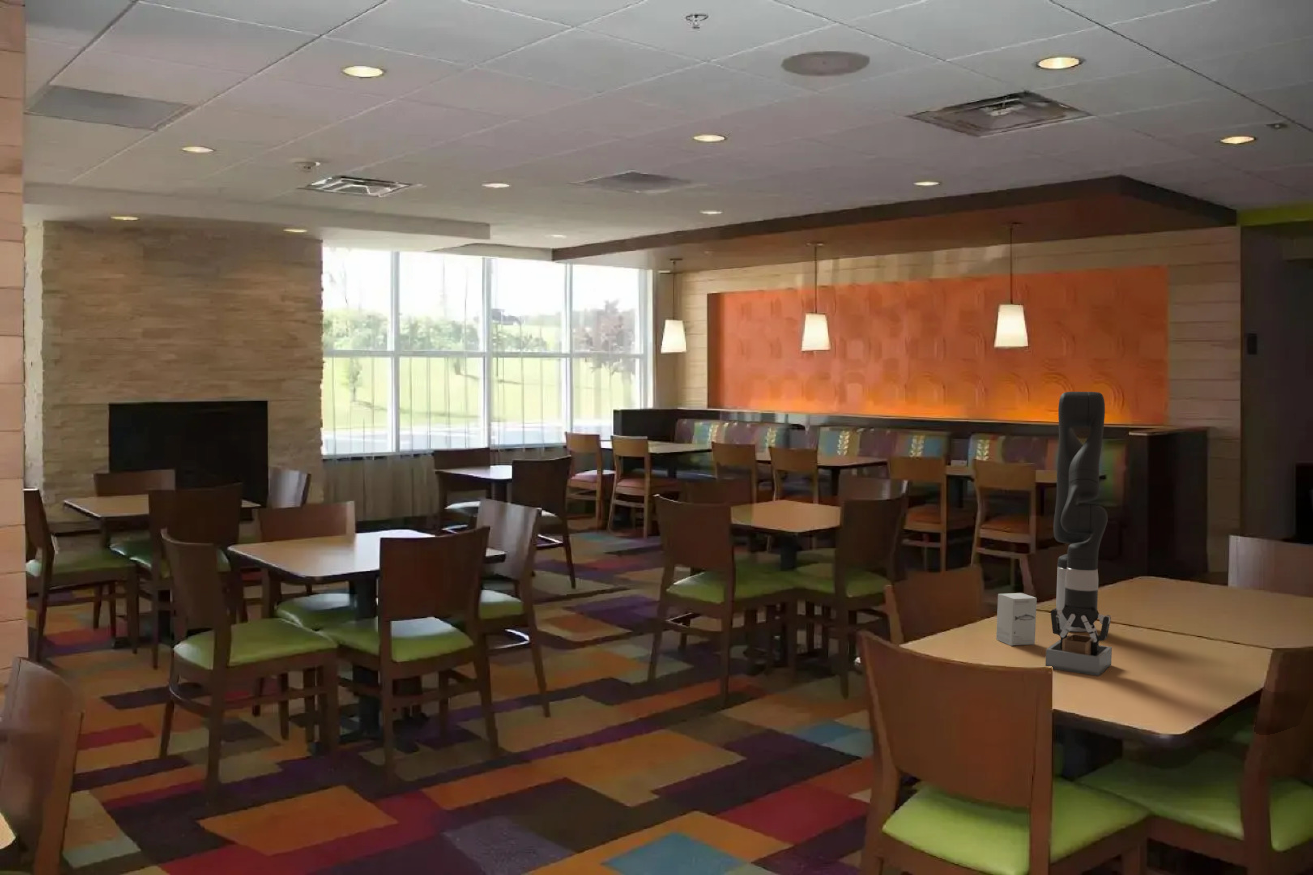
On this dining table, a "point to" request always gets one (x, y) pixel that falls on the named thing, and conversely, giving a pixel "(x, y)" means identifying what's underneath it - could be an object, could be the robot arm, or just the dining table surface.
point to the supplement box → (1016, 619)
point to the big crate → (1079, 660)
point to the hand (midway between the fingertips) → (1078, 654)
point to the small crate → (1077, 644)
